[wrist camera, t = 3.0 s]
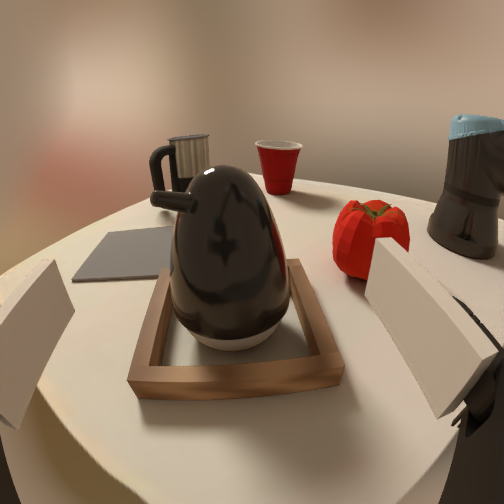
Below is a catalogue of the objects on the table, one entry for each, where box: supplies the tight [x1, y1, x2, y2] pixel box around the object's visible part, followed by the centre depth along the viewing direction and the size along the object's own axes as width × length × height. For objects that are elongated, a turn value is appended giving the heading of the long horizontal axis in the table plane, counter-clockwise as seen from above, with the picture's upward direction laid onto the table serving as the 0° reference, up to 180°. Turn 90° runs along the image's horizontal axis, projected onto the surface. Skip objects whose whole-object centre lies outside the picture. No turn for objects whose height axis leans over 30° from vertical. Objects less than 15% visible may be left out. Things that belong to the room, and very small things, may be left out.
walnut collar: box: [127, 258, 345, 400], centre depth 26 cm, size 16×16×2 cm
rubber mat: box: [72, 226, 174, 282], centre depth 41 cm, size 16×16×1 cm
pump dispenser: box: [150, 165, 290, 351], centre depth 23 cm, size 10×10×15 cm
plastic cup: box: [255, 140, 302, 195], centre depth 63 cm, size 11×11×12 cm
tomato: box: [332, 200, 410, 281], centre depth 32 cm, size 11×11×9 cm
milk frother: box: [149, 134, 210, 193], centre depth 56 cm, size 14×16×15 cm
